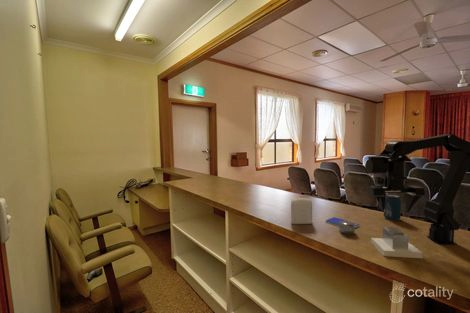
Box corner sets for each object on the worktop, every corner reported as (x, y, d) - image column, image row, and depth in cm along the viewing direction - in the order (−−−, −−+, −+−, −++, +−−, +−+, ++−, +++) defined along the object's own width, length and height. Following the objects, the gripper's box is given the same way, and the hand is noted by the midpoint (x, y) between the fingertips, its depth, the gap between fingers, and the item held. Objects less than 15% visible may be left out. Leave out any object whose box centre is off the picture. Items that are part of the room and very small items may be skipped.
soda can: (399, 217, 113) (400, 194, 112) (401, 222, 107) (402, 197, 106) (383, 215, 117) (384, 193, 116) (384, 219, 111) (385, 196, 110)
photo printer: (292, 224, 106) (292, 199, 105) (290, 221, 111) (290, 197, 110) (313, 224, 106) (313, 199, 105) (310, 221, 111) (310, 197, 110)
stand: (404, 244, 85) (404, 239, 85) (422, 258, 75) (422, 252, 75) (370, 242, 87) (371, 237, 87) (383, 256, 77) (384, 250, 77)
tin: (344, 228, 101) (344, 220, 101) (357, 233, 96) (357, 224, 95) (336, 231, 98) (336, 222, 98) (348, 235, 93) (348, 226, 93)
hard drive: (359, 224, 103) (334, 216, 114) (350, 228, 99) (325, 220, 109) (359, 227, 104) (334, 219, 114) (350, 231, 99) (325, 223, 109)
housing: (408, 249, 77) (408, 234, 77) (392, 248, 78) (393, 233, 78) (396, 240, 84) (397, 226, 84) (382, 239, 85) (383, 225, 84)
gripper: (407, 169, 94) (406, 205, 95) (361, 170, 96) (361, 205, 97) (427, 173, 83) (426, 214, 84) (374, 174, 85) (373, 214, 86)
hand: (394, 211), depth 88 cm, fingers open, 9 cm apart
